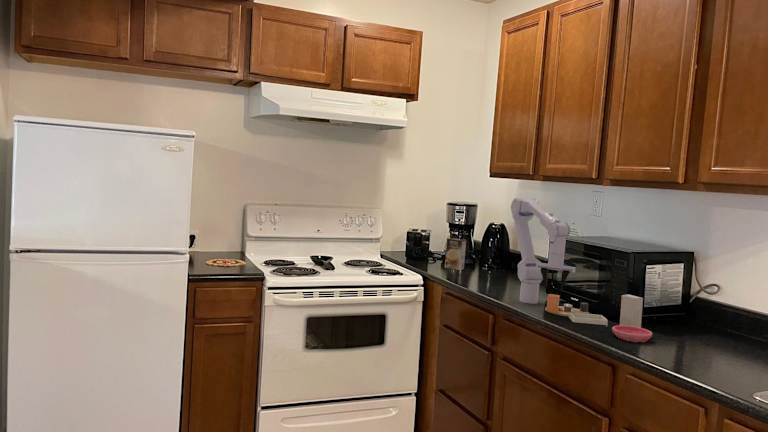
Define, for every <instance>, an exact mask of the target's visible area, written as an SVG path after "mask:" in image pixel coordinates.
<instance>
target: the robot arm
mask: <svg viewBox="0 0 768 432" xmlns="http://www.w3.org/2000/svg"><path fill="white" fill-rule="evenodd" d="M510 211H511V214H512V219H513V220H514V226H515V231H516V238H517V240H518V246H519V250H520V254H521V255H520V256H521V260H520V261H519V262H518V263H517V265H516V266H517V277H518V279H519V281H520V283H521V284H520V291H519V292H520V293H519V302H521V303H524V304H531V305H535V304H538V303H539V294H540V293H539V291H540V284H541V283H542V281H543V286H544V289H547V288H548V277H549V270H551V271H560V272H561V281H560V288H559V289H560V291H563V289H564V285H565V282H566V280H567V278H568V276H569V274H570V273H571V274H572V273H573V274H575V273H576V268H577V267H576V266H570V265H564V261H565V252H566V240H567V238H568V237H569V235H570V234H571V226H570V225H569V224H568V223H567V222H566V221H565V222H562V221H561V220H560V218H557V217H556V216H555V215H554V213H553V212H549V211H548V212H546V211H545V210H544V208H542V206H540V202H539V201H538V200H537V199H536V198H525V197H523V198H522V197H514V198H513V200H512V201H511V205H510ZM534 216H535V217H536V218H538V219H539V224H540V225H541V226H543V228H545V230H546V231H547V234H548V241H549V250H548V251H549V252H548V259H547V260H548V261H547V263H545V262H542V261H541V260H539V259H537V258H536V256H535V255H536V254H535V250H534V246H533V241H532V236H531V232H530V227H529V221H531V220H532V219H533V218H534Z"/></svg>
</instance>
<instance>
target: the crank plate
mask: <svg viewBox="0 0 768 432" xmlns="http://www.w3.org/2000/svg"><path fill="white" fill-rule="evenodd" d="M559 306H560V305H559ZM560 307H563V310H558V312H557V313H556V312H550V311H547V312H548V313H551V314H554V315H558V316H564V317H568V315H569V312H572V309H577V310H580V308H575V307H572V308H567V307H564V306H562V305H561V306H560ZM544 310H545V311H546V310H547V306H546V307H545V308H544ZM572 313H575V312H572ZM587 314H591V313H590V312H589V311H588V312H587Z"/></svg>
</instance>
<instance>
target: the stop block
mask: <svg viewBox="0 0 768 432" xmlns="http://www.w3.org/2000/svg"><path fill="white" fill-rule="evenodd" d="M560 297H561V295H559V294H553V293H548V295H547V298H546V299H547V300H546V301H547V302H546V307H547V310H545V312H548V311H550V312H556V313H557V312H558V309H559V306H560ZM550 312H549V313H550Z"/></svg>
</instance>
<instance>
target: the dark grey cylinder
mask: <svg viewBox="0 0 768 432" xmlns="http://www.w3.org/2000/svg"><path fill="white" fill-rule="evenodd" d="M563 307H567V308H573V304H570V303H563V306H562V307H560V305H559V309H558V310H563ZM577 309H578V308H576V309H572V312H575V313H583V314H587V312H589V311H588V310H589V303H587V302H580V307H579V309H580V310H577Z"/></svg>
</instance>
